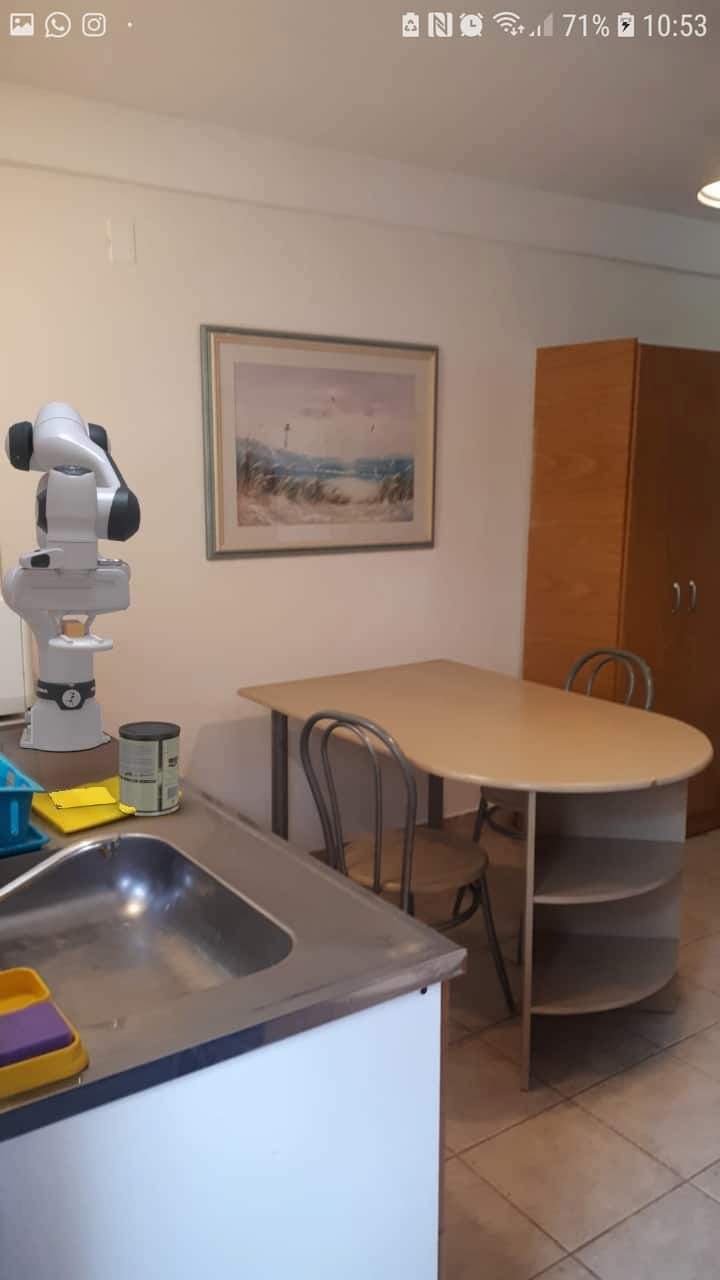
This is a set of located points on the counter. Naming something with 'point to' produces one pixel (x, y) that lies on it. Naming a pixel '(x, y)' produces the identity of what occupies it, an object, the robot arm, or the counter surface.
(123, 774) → the coffee can
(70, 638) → the lid
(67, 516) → the robot arm
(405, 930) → the counter surface
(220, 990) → the counter surface
